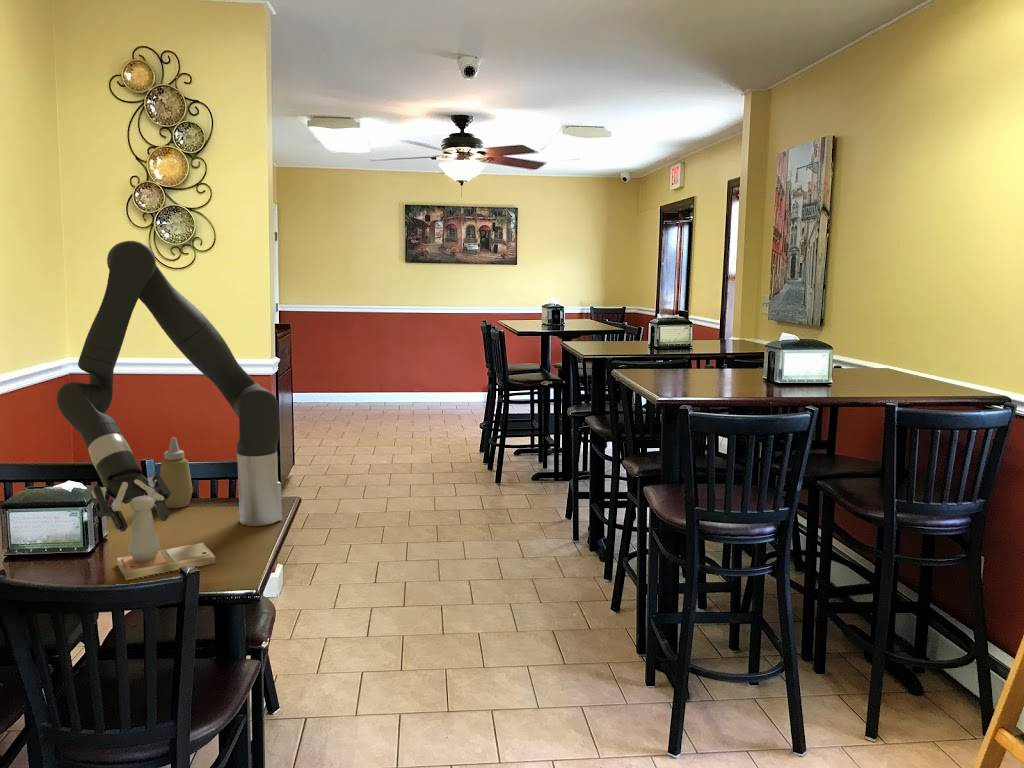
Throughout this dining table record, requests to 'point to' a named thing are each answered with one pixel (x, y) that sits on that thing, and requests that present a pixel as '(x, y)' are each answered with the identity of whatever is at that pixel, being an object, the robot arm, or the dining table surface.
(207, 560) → the tile board
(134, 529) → the salt shaker
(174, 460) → the squeeze bottle
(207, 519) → the dining table surface
